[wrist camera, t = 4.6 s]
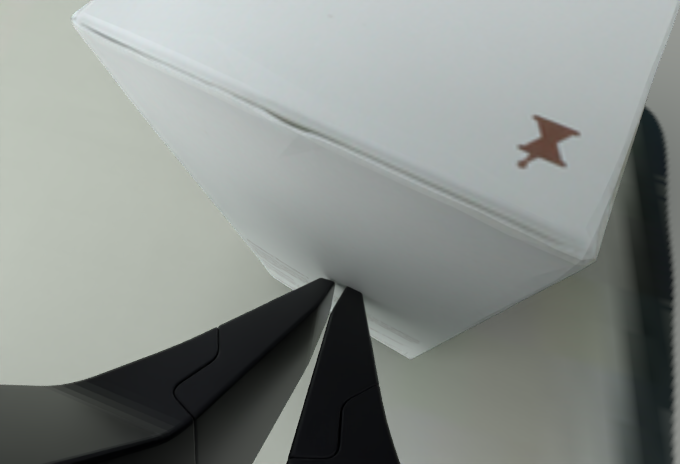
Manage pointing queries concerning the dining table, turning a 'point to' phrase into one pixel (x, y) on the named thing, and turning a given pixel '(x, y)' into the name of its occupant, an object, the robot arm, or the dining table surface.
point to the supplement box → (398, 136)
